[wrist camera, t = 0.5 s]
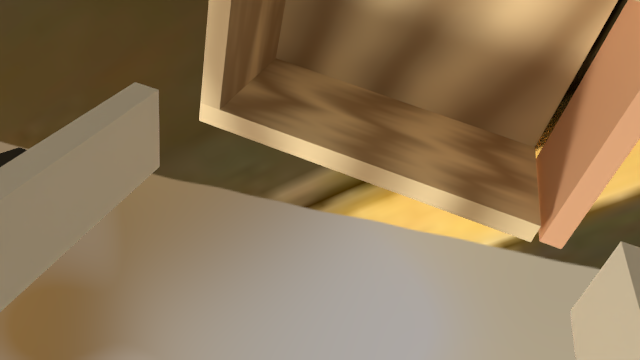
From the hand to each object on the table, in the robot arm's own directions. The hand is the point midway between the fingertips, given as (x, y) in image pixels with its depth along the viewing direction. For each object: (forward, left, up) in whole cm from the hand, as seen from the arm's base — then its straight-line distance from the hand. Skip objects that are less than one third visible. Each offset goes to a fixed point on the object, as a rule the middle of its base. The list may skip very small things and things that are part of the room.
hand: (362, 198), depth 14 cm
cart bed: (-1, -1, -22) cm, 22 cm away
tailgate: (+10, -1, -21) cm, 23 cm away
